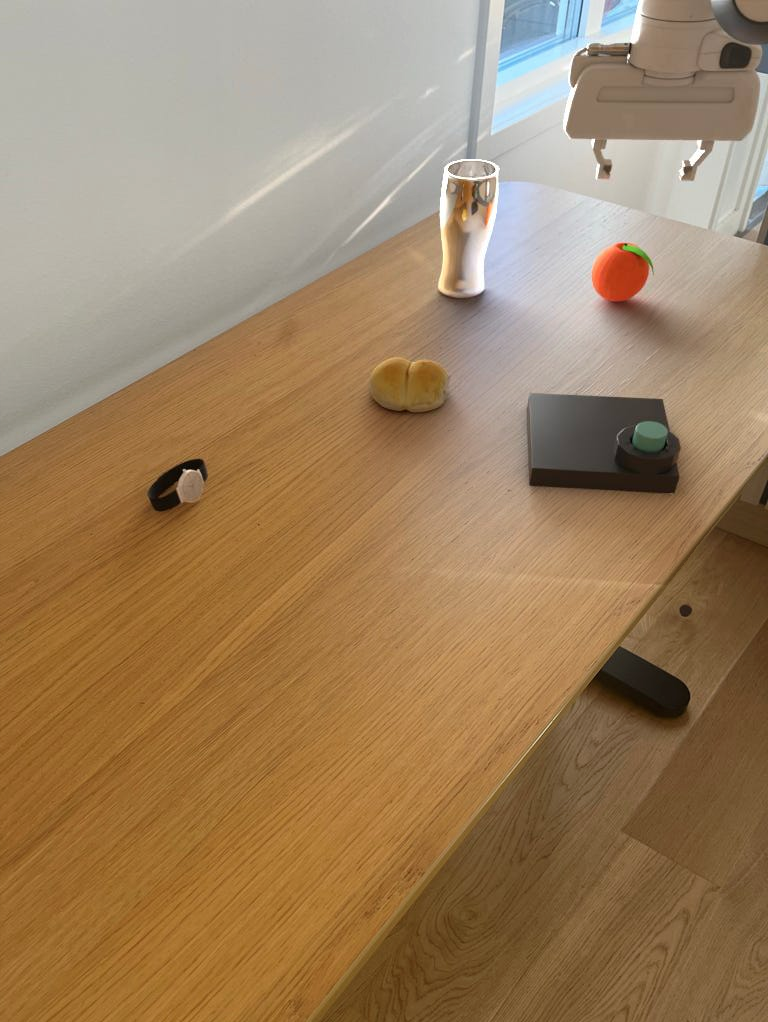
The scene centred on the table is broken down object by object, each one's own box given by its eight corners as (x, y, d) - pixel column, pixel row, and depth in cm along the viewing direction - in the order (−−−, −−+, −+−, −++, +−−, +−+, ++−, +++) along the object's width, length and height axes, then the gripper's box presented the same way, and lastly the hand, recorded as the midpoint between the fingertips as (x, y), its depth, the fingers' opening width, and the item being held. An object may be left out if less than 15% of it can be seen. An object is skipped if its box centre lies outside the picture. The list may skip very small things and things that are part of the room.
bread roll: (377, 373, 111) (378, 341, 108) (452, 381, 109) (455, 350, 106) (360, 410, 106) (360, 378, 103) (439, 420, 104) (441, 388, 101)
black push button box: (657, 416, 103) (667, 383, 100) (674, 494, 93) (684, 460, 90) (526, 410, 104) (531, 377, 102) (528, 486, 95) (534, 453, 92)
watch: (174, 523, 93) (170, 493, 91) (138, 508, 95) (132, 479, 92) (220, 482, 98) (217, 453, 95) (184, 469, 99) (179, 440, 97)
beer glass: (431, 298, 124) (439, 178, 113) (438, 274, 128) (446, 157, 118) (484, 301, 122) (498, 181, 112) (489, 277, 127) (503, 159, 116)
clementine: (660, 299, 121) (674, 244, 116) (630, 319, 118) (643, 263, 112) (605, 281, 125) (617, 227, 120) (575, 299, 122) (586, 245, 117)
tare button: (661, 436, 94) (666, 421, 92) (665, 454, 92) (669, 439, 90) (630, 435, 94) (634, 420, 93) (633, 452, 92) (637, 437, 91)
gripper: (575, 51, 100) (553, 187, 110) (779, 51, 97) (738, 190, 107) (572, 35, 104) (552, 167, 114) (767, 34, 101) (729, 169, 111)
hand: (643, 178), depth 111 cm, fingers open, 8 cm apart
